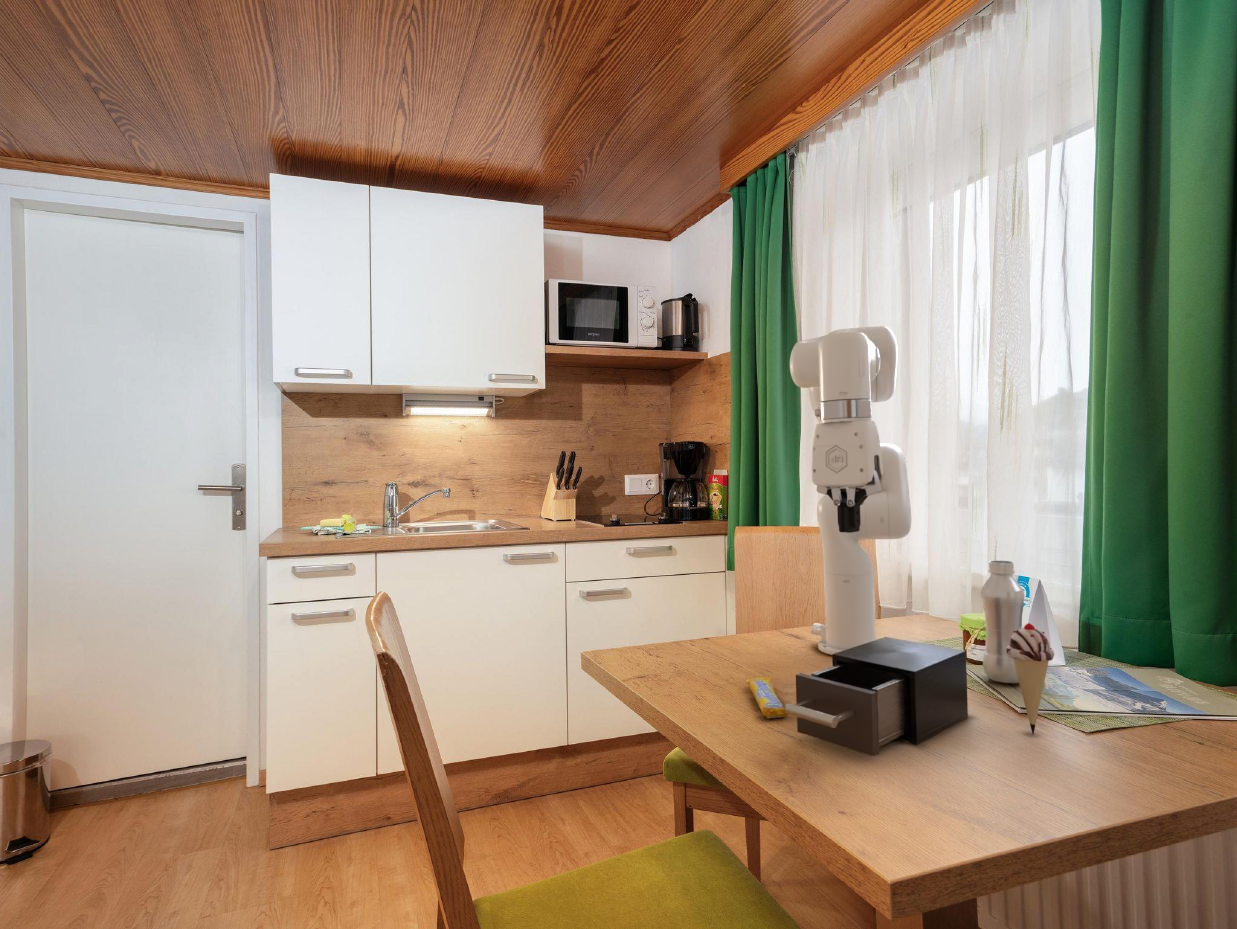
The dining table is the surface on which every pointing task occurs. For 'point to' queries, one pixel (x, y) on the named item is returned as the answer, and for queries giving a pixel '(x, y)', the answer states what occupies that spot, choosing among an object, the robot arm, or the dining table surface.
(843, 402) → the robot arm
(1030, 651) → the ice cream cone
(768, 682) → the candy bar
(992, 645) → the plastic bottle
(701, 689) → the dining table surface
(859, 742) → the pull-out drawer
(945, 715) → the small drawer cabinet
